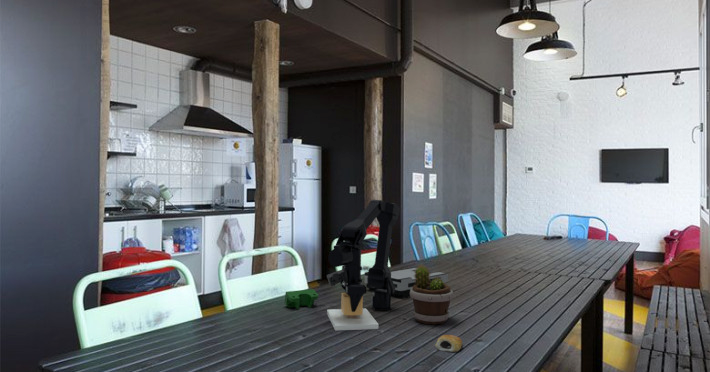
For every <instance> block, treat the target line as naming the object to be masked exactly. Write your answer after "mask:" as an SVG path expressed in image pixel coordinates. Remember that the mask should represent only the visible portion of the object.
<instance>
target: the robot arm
mask: <svg viewBox="0 0 710 372" xmlns="http://www.w3.org/2000/svg"><path fill="white" fill-rule="evenodd" d="M400 213H401V209H400V207H399V206H398V204H397V203H394V202H392V203H391V202H387V201H384V200H383V199H372V200H370V201H369V203H368V205H367V206H366V207H365V209H364V210H363V211H362V212H361V213H360V215H359V216H357V217H356V219H355V220H352V221H350V222H347V224H345V225H344V226H343V227H342V228H341V231H340V234H339V236H338V239H337V240H336V243H335V245H333V249H332V250H330V251H329V253H328V257H327V259H328V262H329V264H330V265H331V266H332V267H334V268H339V267H341V269H339V270H337V271H334V272H332V273H329V274H326V278H327V280H328V284H329V286H331V287H334V286H336V285H337V284H340V287H341V288H342V290H344V291H345V292H344V293H347V294H348V295H349V297H350V303H351V310H352V312H355V311H356V309H357V306H358V304H359V302H360V300H361V298H362V297H364V295H365V294H367V289H368V292H372V294H371V297H370V306H371V309H373V310H374V311H392V310H393V309H392V306H391V303H392V301H391V300H392V299H391V298H392V294H393V293H394V292H395V285H394V283H393V281H392V280H391V272H390V271H391V270H390V267H389V259H390V250H391V243H392V233H393V227H394V226H395V224H396V223H397V222H398V219H399V216H400ZM375 220H377V222H378V225H379V227H378V236H377V241H376V242H377V244H376V250H375V251H376V252H375V258H374V259H375V261H374V264H373V266H372V267H369V268H368V270H367V272H368V277H367V283H368V288H367V285H365V283H363V279H362V277H361V275H362V270H363V267H362V249H365V246H364V245H363V244H362V243H363V242H364V240H365V238H366V237H367V235H368V234H367V233H368V232H367V230H368V228H369V227H370V225H371V224H372V223H373V222H374V221H375ZM367 283H366V284H367Z"/></svg>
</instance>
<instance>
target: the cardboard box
mask: <svg viewBox="0 0 710 372" xmlns="http://www.w3.org/2000/svg"><path fill="white" fill-rule="evenodd" d="M340 296H341V298H340V301H341V302H340V309H341V311H342V313H343V315H362V314H363V309H364V308H363V305H364V304H363V303H364V300H363V299H364V298H363V297H364V296H362V298H361V300H360V302H359V304H358V306H357V309H356V311H355V312H352V310H351V303H350V297H349V295H348V294H347V293H346V292H341V295H340Z"/></svg>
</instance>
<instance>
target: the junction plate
mask: <svg viewBox="0 0 710 372" xmlns="http://www.w3.org/2000/svg"><path fill="white" fill-rule="evenodd" d="M326 310H327V311H326V314H327V317H328V319H329V321H330V323H331V325H332V326H333V329H334V331H335V332H336V331H354V330H355V331H358V330H359V331H360V330H378V329H379V323H378V322H377V320H376V319H375V318H374V317H373V315H372V314H371V312H369V310H368V309H367V308H363V314H362V315H343V313H342V311H341V308H340V309H339V308H337V309H326Z"/></svg>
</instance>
